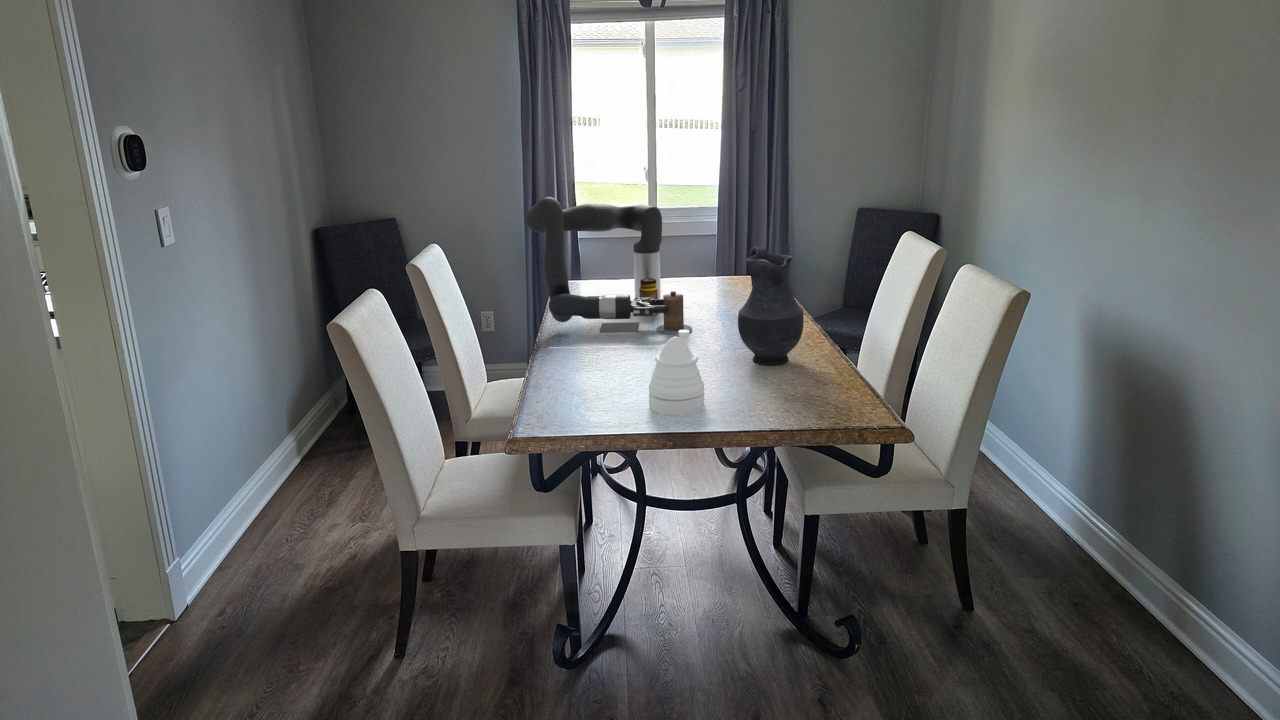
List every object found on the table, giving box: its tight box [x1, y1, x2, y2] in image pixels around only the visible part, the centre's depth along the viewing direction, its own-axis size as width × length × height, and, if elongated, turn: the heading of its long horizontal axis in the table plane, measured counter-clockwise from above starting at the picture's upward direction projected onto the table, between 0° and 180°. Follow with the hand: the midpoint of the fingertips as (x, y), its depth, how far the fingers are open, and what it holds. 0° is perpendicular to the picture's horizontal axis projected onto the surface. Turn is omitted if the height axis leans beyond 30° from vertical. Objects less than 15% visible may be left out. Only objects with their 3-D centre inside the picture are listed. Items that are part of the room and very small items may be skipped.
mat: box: [598, 321, 640, 334], centre depth 265 cm, size 12×12×1 cm
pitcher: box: [737, 245, 805, 367], centre depth 225 cm, size 17×21×30 cm
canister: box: [662, 291, 685, 331], centre depth 259 cm, size 6×6×12 cm
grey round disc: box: [655, 324, 693, 336], centre depth 260 cm, size 11×11×1 cm
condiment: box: [639, 278, 659, 316], centre depth 279 cm, size 7×8×12 cm
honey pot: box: [648, 330, 705, 416], centre depth 195 cm, size 13×13×18 cm
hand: (667, 305), depth 258 cm, fingers open, 8 cm apart
